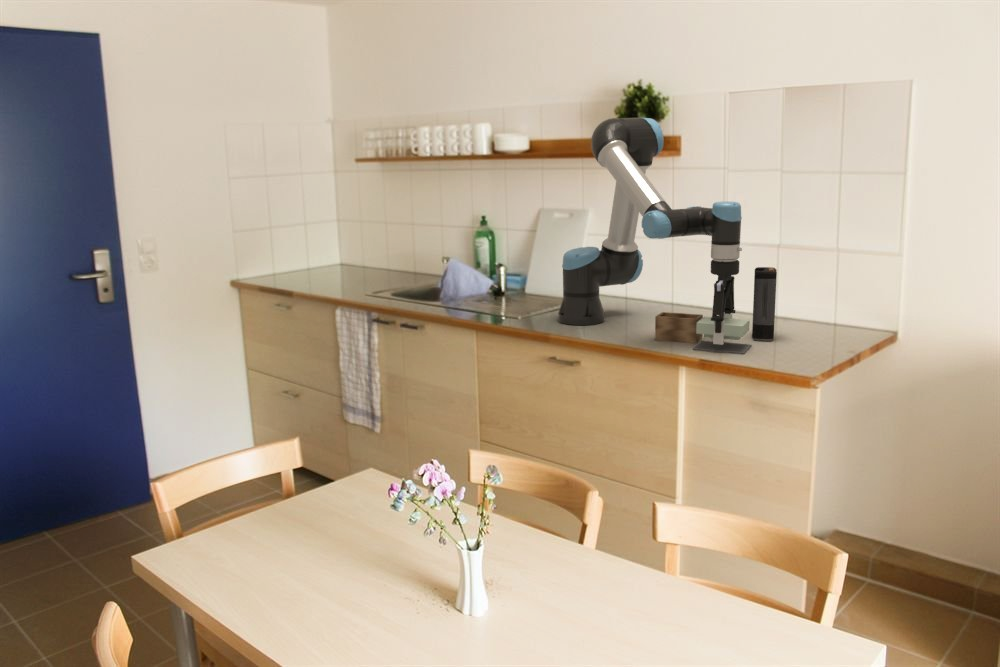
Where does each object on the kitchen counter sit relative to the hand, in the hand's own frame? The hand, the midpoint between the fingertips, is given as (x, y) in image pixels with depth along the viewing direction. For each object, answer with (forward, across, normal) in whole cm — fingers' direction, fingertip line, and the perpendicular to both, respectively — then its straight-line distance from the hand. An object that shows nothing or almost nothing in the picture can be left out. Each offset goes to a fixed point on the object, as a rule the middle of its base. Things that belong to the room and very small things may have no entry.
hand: (722, 340), depth 234 cm
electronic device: (+2, +16, -8) cm, 18 cm away
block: (-2, 0, 0) cm, 2 cm away
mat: (+2, 0, 0) cm, 2 cm away
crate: (+2, +6, +14) cm, 15 cm away
